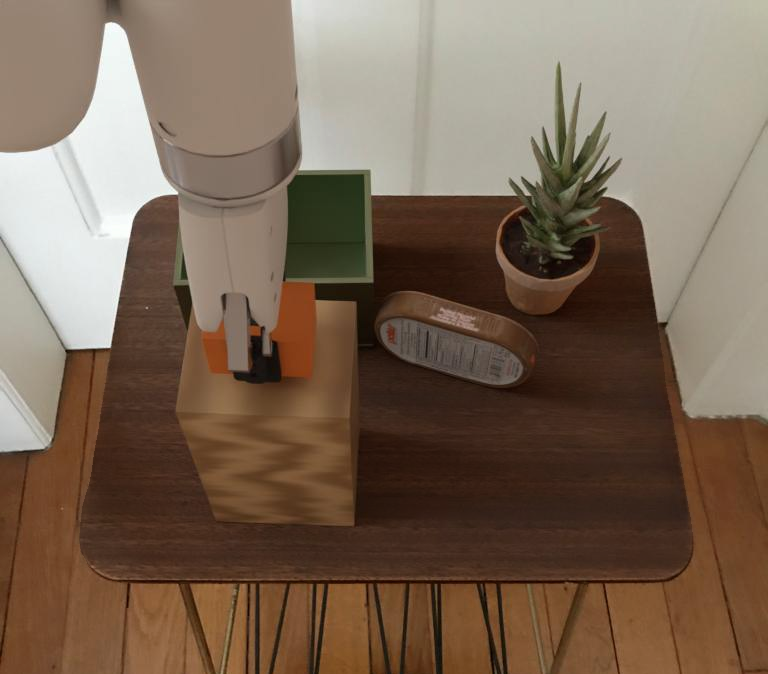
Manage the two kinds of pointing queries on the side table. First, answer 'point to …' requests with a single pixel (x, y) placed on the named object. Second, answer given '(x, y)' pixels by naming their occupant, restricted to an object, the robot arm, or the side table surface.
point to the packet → (278, 333)
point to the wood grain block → (278, 431)
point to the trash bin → (321, 243)
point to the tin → (456, 339)
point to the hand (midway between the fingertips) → (262, 342)
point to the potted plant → (555, 218)
